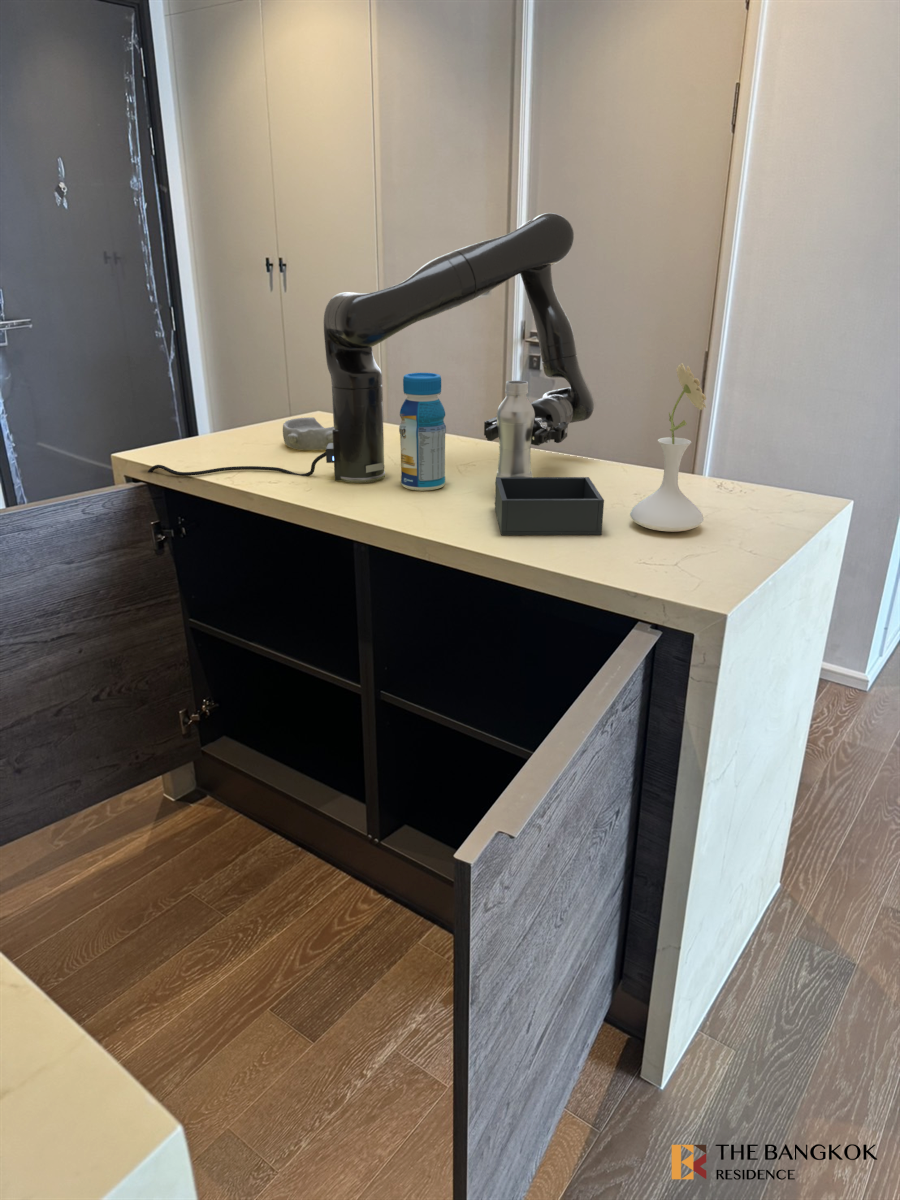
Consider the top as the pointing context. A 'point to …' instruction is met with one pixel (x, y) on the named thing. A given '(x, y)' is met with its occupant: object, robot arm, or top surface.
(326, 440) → the dish
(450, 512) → the top surface
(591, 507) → the black open rectangular box
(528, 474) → the plastic bottle
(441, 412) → the beverage bottle
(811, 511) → the top surface
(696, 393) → the flower in vase
